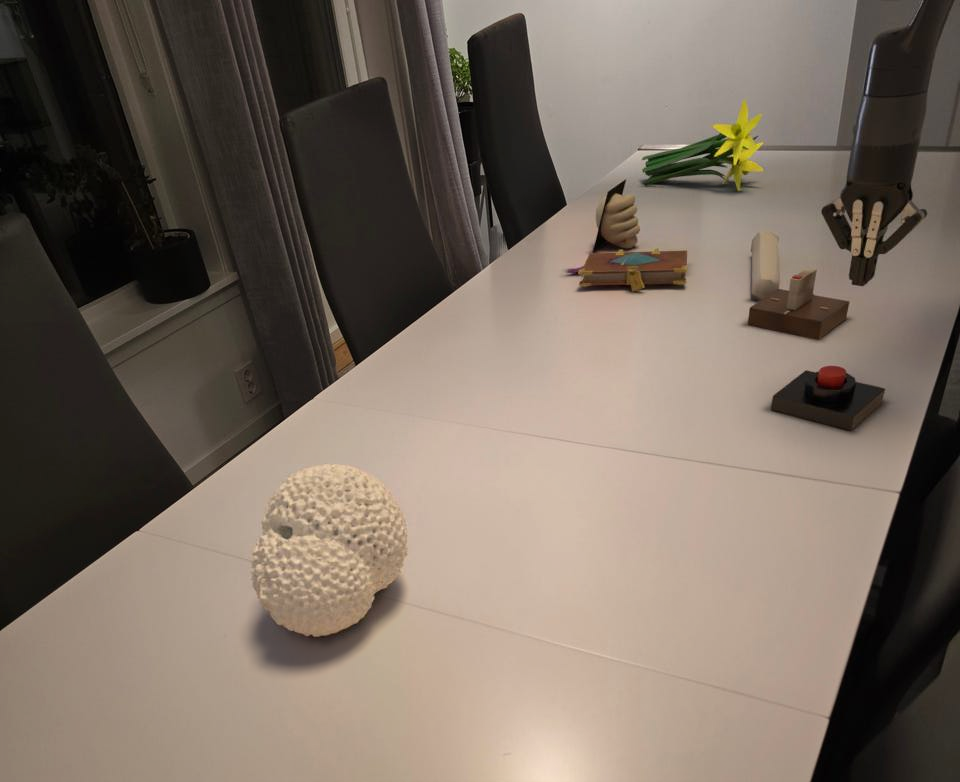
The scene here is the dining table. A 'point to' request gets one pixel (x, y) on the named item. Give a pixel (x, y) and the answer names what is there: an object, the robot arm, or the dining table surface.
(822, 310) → the knob panel
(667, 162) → the daffodil flowers
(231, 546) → the dining table surface
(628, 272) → the book
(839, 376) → the button
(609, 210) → the decorative object
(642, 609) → the dining table surface
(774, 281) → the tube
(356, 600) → the cream bumpy rounded lump
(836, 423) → the button box
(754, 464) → the dining table surface
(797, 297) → the knob
